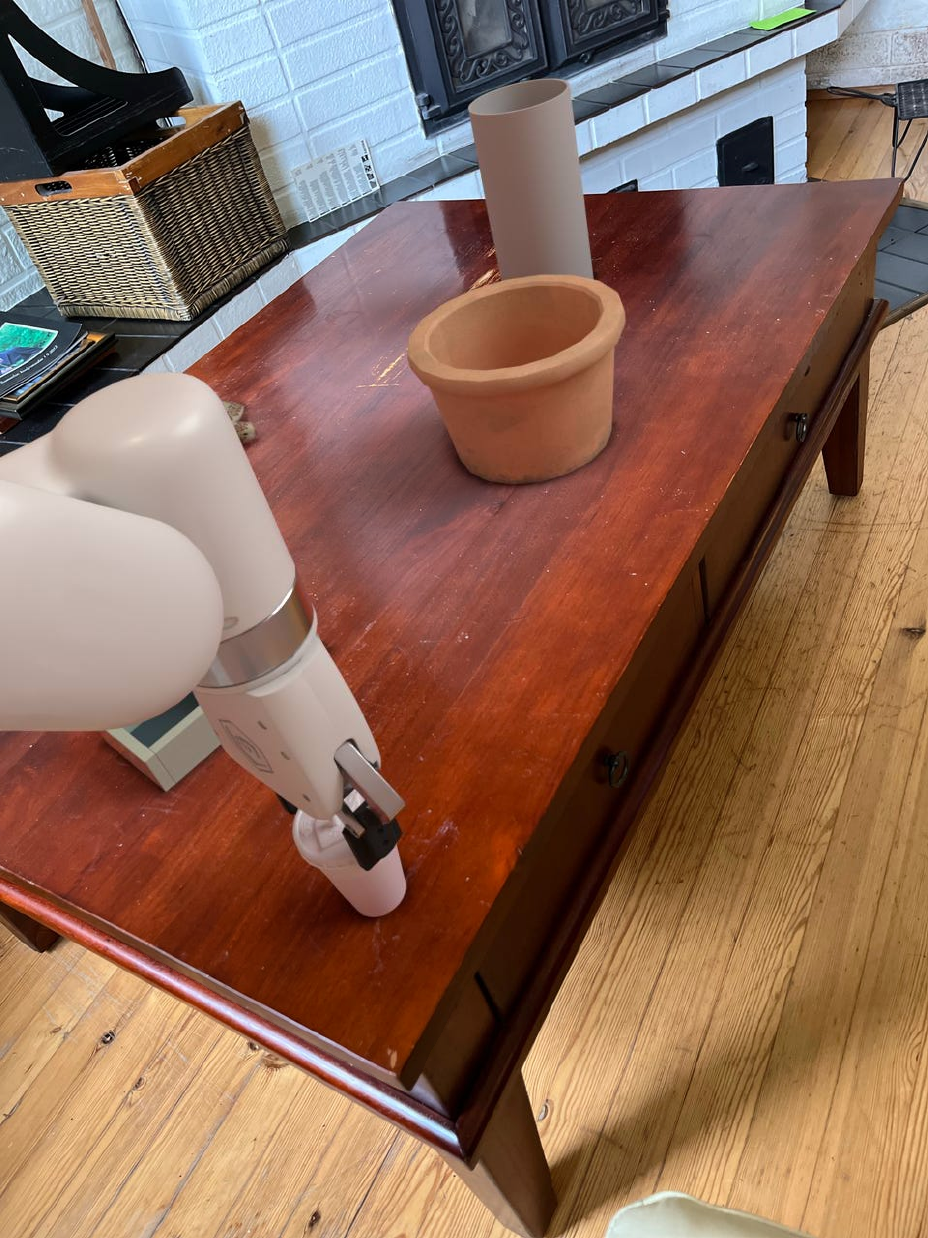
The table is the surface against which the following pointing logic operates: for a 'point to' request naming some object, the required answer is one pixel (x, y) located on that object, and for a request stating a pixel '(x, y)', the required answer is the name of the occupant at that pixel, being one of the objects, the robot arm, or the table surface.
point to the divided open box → (167, 742)
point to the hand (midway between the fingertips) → (343, 822)
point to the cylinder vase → (532, 179)
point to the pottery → (523, 373)
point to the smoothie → (350, 863)
